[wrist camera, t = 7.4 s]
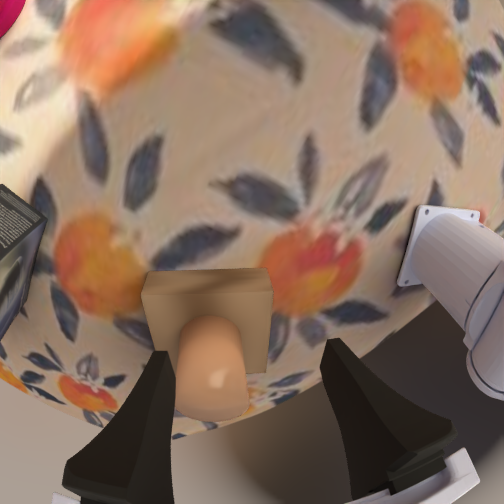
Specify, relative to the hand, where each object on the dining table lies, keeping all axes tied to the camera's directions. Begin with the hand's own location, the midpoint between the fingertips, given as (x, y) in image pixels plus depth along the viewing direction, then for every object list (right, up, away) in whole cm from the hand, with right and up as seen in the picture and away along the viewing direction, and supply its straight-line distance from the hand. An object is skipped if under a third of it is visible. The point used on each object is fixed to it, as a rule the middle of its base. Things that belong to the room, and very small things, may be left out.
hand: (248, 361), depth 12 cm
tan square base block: (-3, 0, +11) cm, 11 cm away
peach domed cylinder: (-3, -2, +8) cm, 9 cm away
